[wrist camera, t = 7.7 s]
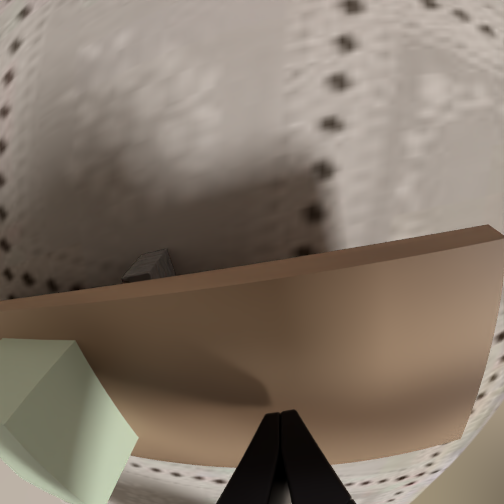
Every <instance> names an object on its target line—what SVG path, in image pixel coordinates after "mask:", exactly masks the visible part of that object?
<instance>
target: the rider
mask: <svg viewBox="0 0 504 504" xmlns="http://www.w3.org/2000/svg"><path fill="white" fill-rule="evenodd" d="M138 438H139V437H138V436H137V435H136V434H135V432H134V431H133V430H132V428H131V427H130V426H129V424H128V423H127V421H126V420H125V419H124V417H123V416H122V414H121V413H120V412H119V410H118V409H117V407H116V406H115V404H114V403H113V401H112V400H111V398H110V397H109V395H108V394H107V392H106V391H105V389H104V388H103V386H102V385H101V383H100V381H99V380H98V378H97V377H96V375H95V373H94V372H93V370H92V368H91V367H90V365H89V363H88V362H87V360H86V358H85V357H84V355H83V353H82V351H81V350H80V348H79V346H78V344H77V342H76V341H75V340H37V339H14V338H2V339H1V340H0V458H1V459H2V460H3V461H4V462H5V463H6V464H7V465H8V466H9V467H10V468H11V469H12V470H13V471H14V472H15V473H16V474H17V475H18V476H19V477H20V478H22V479H23V480H25V481H27V482H29V483H30V484H32V485H34V486H36V487H38V488H40V489H42V490H44V491H46V492H48V493H49V494H51V495H54V496H56V497H58V498H60V499H62V500H64V501H66V502H68V503H71V504H107V502H108V500H109V498H110V496H111V494H112V492H113V490H114V488H115V485H116V483H117V481H118V479H119V477H120V475H121V473H122V471H123V469H124V467H125V465H126V463H127V461H128V459H129V456H130V454H131V452H132V450H133V448H134V446H135V444H136V442H137V440H138Z"/></svg>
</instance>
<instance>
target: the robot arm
mask: <svg viewBox="0 0 504 504" xmlns="http://www.w3.org/2000/svg"><path fill="white" fill-rule="evenodd" d="M291 503H292V504H356V503H355V501H354V500H353V499H352V497H351V496H350V494H349V493H348V491H347V490H346V488H345V486H344V485H343V483H342V482H341V480H340V479H339V477H338V476H337V474H336V473H335V471H334V470H333V468H332V466H331V465H330V463H329V462H328V460H327V459H326V457H325V455H324V454H323V452H322V451H321V449H320V448H319V446H318V444H317V443H316V441H315V440H314V438H313V436H312V435H311V433H310V432H309V430H308V428H307V427H306V425H305V423H304V422H303V420H302V419H301V417H300V415H299V414H298V412H297V411H296V410H295V409H292V410H286V411H282V412H281V413H280V412H273V413H267V414H265V415H264V417H263V419H262V421H261V423H260V425H259V427H258V429H257V431H256V432H255V434H254V436H253V438H252V440H251V442H250V444H249V446H248V448H247V450H246V451H245V453H244V455H243V457H242V459H241V461H240V462H239V464H238V466H237V468H236V470H235V472H234V473H233V475H232V477H231V479H230V480H229V482H228V484H227V486H226V487H225V489H224V491H223V493H222V494H221V496H220V498H219V499H218V501H217V503H216V504H291Z"/></svg>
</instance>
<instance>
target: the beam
mask: <svg viewBox="0 0 504 504" xmlns="http://www.w3.org/2000/svg"><path fill="white" fill-rule="evenodd" d="M503 278H504V235H502V234H501V233H500V232H498V231H497V230H495V229H494V228H492V227H491V226H490V225H482V226H476V227H471V228H465V229H460V230H454V231H448V232H443V233H437V234H431V235H426V236H420V237H414V238H408V239H402V240H397V241H391V242H385V243H379V244H373V245H367V246H361V247H355V248H349V249H343V250H337V251H331V252H325V253H319V254H313V255H307V256H300V257H294V258H288V259H282V260H275V261H269V262H263V263H257V264H250V265H244V266H237V267H231V268H225V269H218V270H212V271H205V272H199V273H192V274H185V275H179V276H172V277H165V278H159V279H152V280H145V281H139V282H132V283H125V284H118V285H111V286H104V287H97V288H90V289H83V290H76V291H69V292H62V293H54V294H47V295H40V296H33V297H25V298H18V299H10V300H3V301H0V340H1V339H2V338H14V339H37V340H75V341H76V342H77V344H78V346H79V348H80V350H81V351H82V353H83V355H84V357H85V358H86V360H87V362H88V363H89V365H90V367H91V368H92V370H93V372H94V373H95V375H96V377H97V378H98V380H99V381H100V383H101V385H102V386H103V388H104V389H105V391H106V392H107V394H108V395H109V397H110V398H111V400H112V401H113V403H114V404H115V406H116V407H117V409H118V410H119V412H120V413H121V414H122V416H123V417H124V419H125V420H126V421H127V423H128V424H129V426H130V427H131V428H132V430H133V431H134V432H135V434H136V435H137V436H138V437H139V438H138V440H137V442H136V444H135V446H134V448H133V450H132V452H131V454H130V455H131V456H136V457H142V458H148V459H154V460H160V461H167V462H175V463H183V464H192V465H203V466H216V467H234V468H237V466H238V464H239V462H240V461H241V459H242V457H243V455H244V453H245V451H246V450H247V448H248V446H249V444H250V442H251V440H252V438H253V436H254V434H255V432H256V431H257V429H258V427H259V425H260V423H261V421H262V419H263V417H264V415H265V414H267V413H273V412H280V413H281V412H282V411H286V410H292V409H295V410H296V411H297V412H298V414H299V415H300V417H301V419H302V420H303V422H304V423H305V425H306V427H307V428H308V430H309V432H310V433H311V435H312V436H313V438H314V440H315V441H316V443H317V444H318V446H319V448H320V449H321V451H322V452H323V454H324V455H325V457H326V459H327V460H328V462H329V463H330V465H333V464H343V463H351V462H358V461H365V460H371V459H378V458H383V457H389V456H394V455H399V454H404V453H408V452H413V451H417V450H421V449H425V448H429V447H433V446H437V445H441V444H444V443H448V442H451V441H454V440H458V439H461V436H462V434H463V432H464V429H465V427H466V424H467V422H468V419H469V416H470V414H471V411H472V408H473V405H474V403H475V400H476V397H477V394H478V391H479V387H480V384H481V381H482V378H483V374H484V371H485V367H486V364H487V360H488V356H489V352H490V348H491V344H492V340H493V336H494V331H495V326H496V321H497V316H498V311H499V305H500V299H501V292H502V285H503Z"/></svg>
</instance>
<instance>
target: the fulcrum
mask: <svg viewBox="0 0 504 504" xmlns="http://www.w3.org/2000/svg"><path fill="white" fill-rule="evenodd" d="M172 276H176V274H175V272H174V269H173V266H172V263H171V260H170V257H169V254H168V251H167V249H164V250H159V251H155V252H151V253H147V254H143V255H141V256H140V258H139V259H138V260H137V261H136V262H135V263H134V264H133V265H132V267H131V268H130V269H129V270H128V271H127V272H126V274H125V275H124V276H123V277H122V278H121V279H122V282H123V284H125V283H132V282H139V281H145V280H152V279H159V278H165V277H172Z"/></svg>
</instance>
